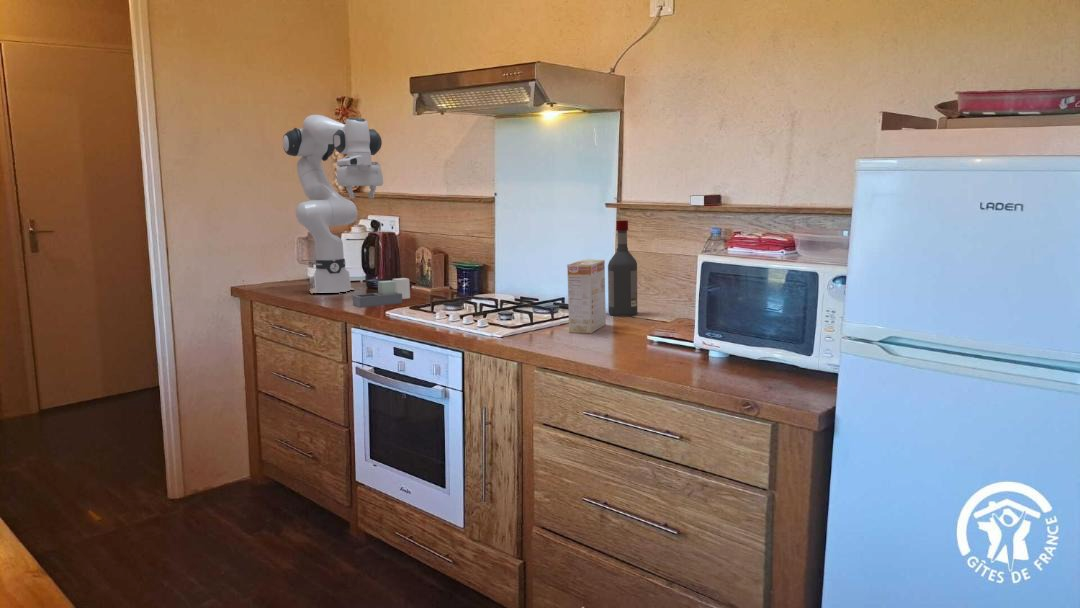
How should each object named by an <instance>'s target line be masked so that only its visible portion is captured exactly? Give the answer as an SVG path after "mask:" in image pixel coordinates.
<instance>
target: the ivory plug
mask: <svg viewBox="0 0 1080 608" xmlns="http://www.w3.org/2000/svg"><path fill="white" fill-rule="evenodd" d="M391 281H395V288H396V292H398V293H401V294H402V300H405V299H411V291H410V290H411V287H410V286H411V285H410V284H411V283H410V279H409V278H408V277H407V278H406V277H399V278H392V280H391Z"/></svg>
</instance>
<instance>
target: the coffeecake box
mask: <svg viewBox="0 0 1080 608" xmlns="http://www.w3.org/2000/svg"><path fill="white" fill-rule="evenodd" d="M605 260H606V259H589V258H588V259H587V258H586V259H581V260H578V261H575V262H571V263H568V264H566V267H567V297H568V304H567V305H568V333H572V334H573V333H575V334H592V333H594V332H595V331H597V330H599V329H601V328H603V327H604V326H606V325H607V321H606V317H607V316H606V275H605V274H606V271H605V269H606V267H605V266H606V265H605V263H606V262H605Z"/></svg>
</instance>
